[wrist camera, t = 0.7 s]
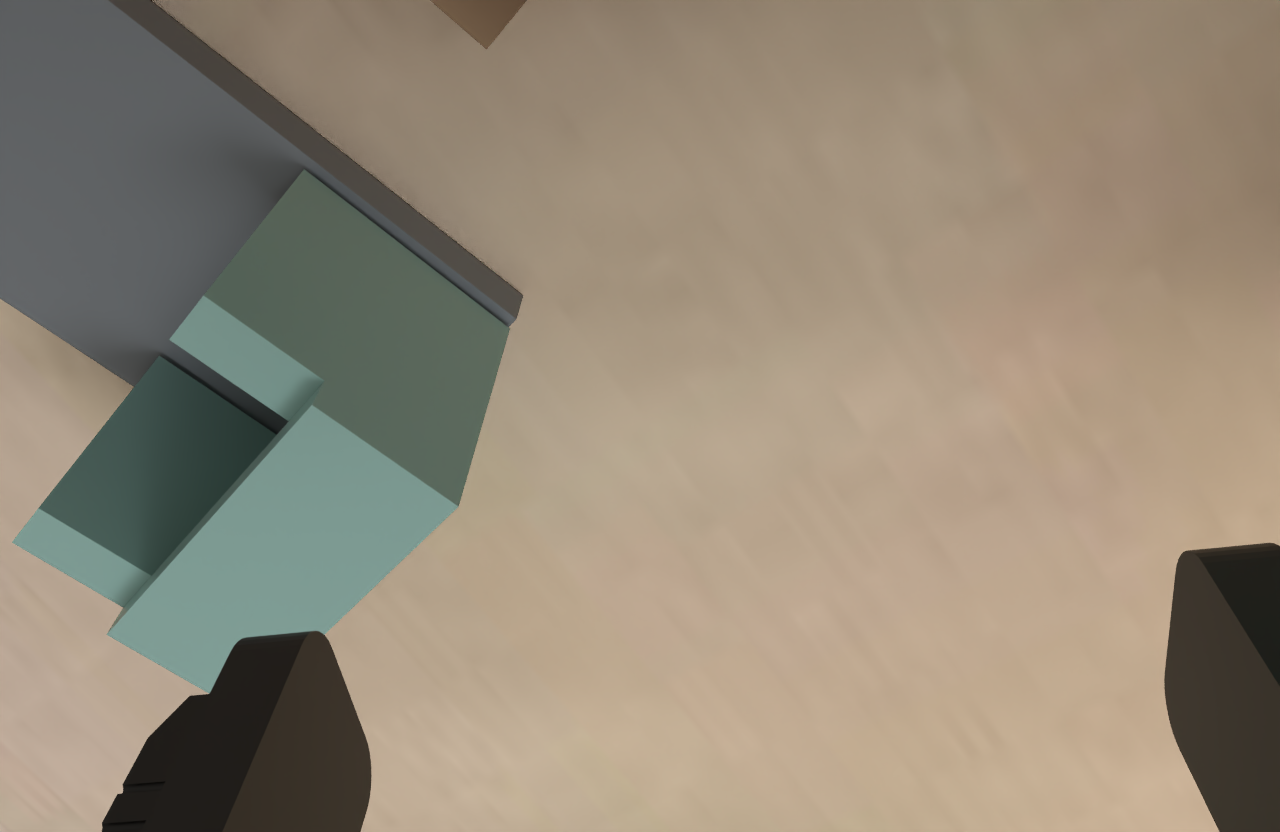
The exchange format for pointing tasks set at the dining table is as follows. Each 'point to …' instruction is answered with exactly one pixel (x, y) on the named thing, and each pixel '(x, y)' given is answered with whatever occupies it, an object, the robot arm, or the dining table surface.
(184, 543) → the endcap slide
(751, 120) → the dining table surface
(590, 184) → the dining table surface
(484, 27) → the brown rectangular block
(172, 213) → the rail
